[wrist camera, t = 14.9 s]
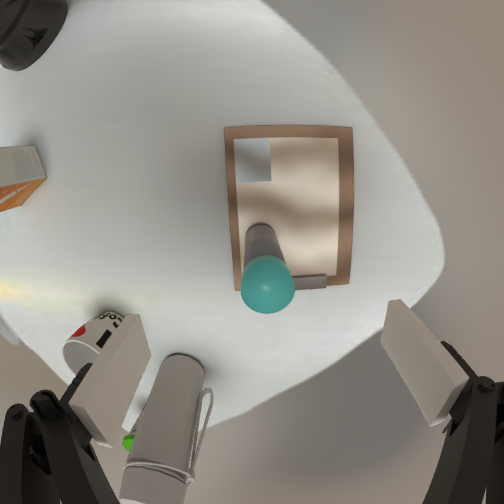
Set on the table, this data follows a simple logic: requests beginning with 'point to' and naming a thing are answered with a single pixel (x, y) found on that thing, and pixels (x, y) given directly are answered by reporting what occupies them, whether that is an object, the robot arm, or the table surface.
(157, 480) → the water bottle
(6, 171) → the small box
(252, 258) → the marker
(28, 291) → the table surface
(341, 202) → the tan flat rectangular tray
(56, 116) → the table surface
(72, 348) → the cup
